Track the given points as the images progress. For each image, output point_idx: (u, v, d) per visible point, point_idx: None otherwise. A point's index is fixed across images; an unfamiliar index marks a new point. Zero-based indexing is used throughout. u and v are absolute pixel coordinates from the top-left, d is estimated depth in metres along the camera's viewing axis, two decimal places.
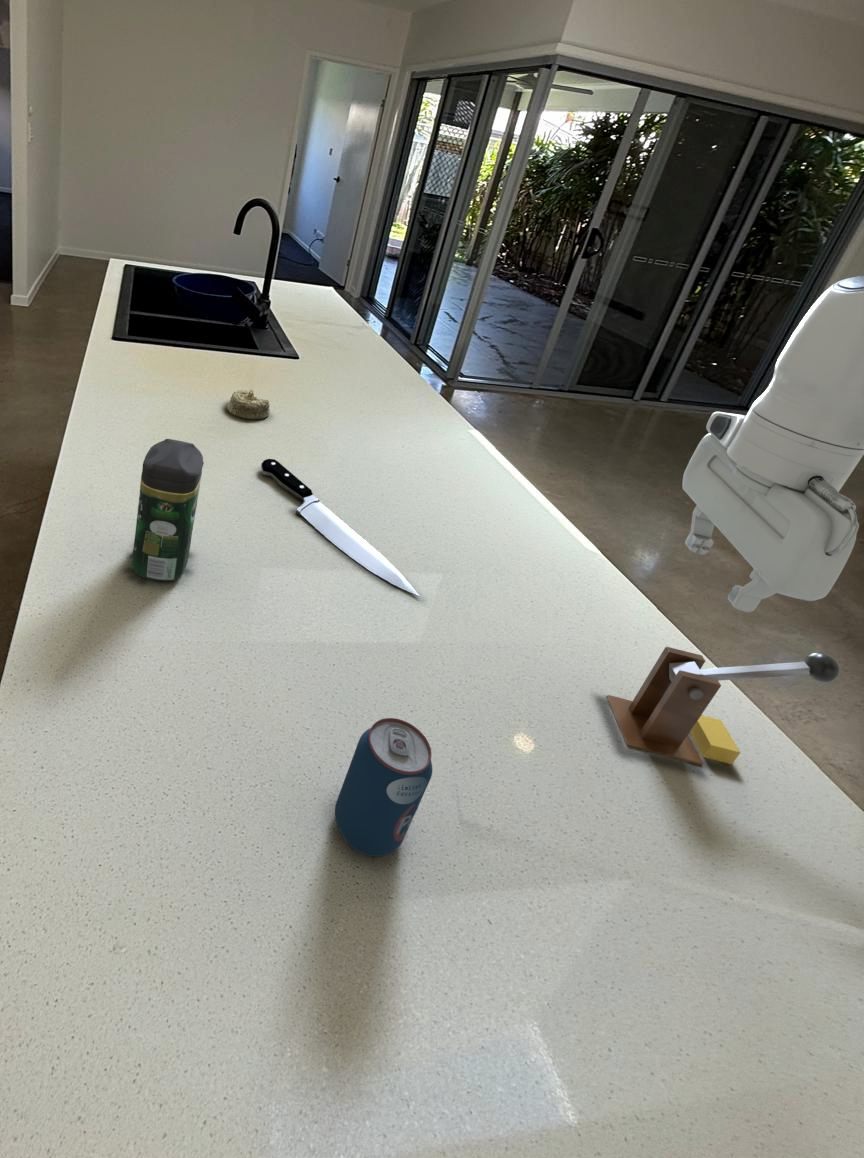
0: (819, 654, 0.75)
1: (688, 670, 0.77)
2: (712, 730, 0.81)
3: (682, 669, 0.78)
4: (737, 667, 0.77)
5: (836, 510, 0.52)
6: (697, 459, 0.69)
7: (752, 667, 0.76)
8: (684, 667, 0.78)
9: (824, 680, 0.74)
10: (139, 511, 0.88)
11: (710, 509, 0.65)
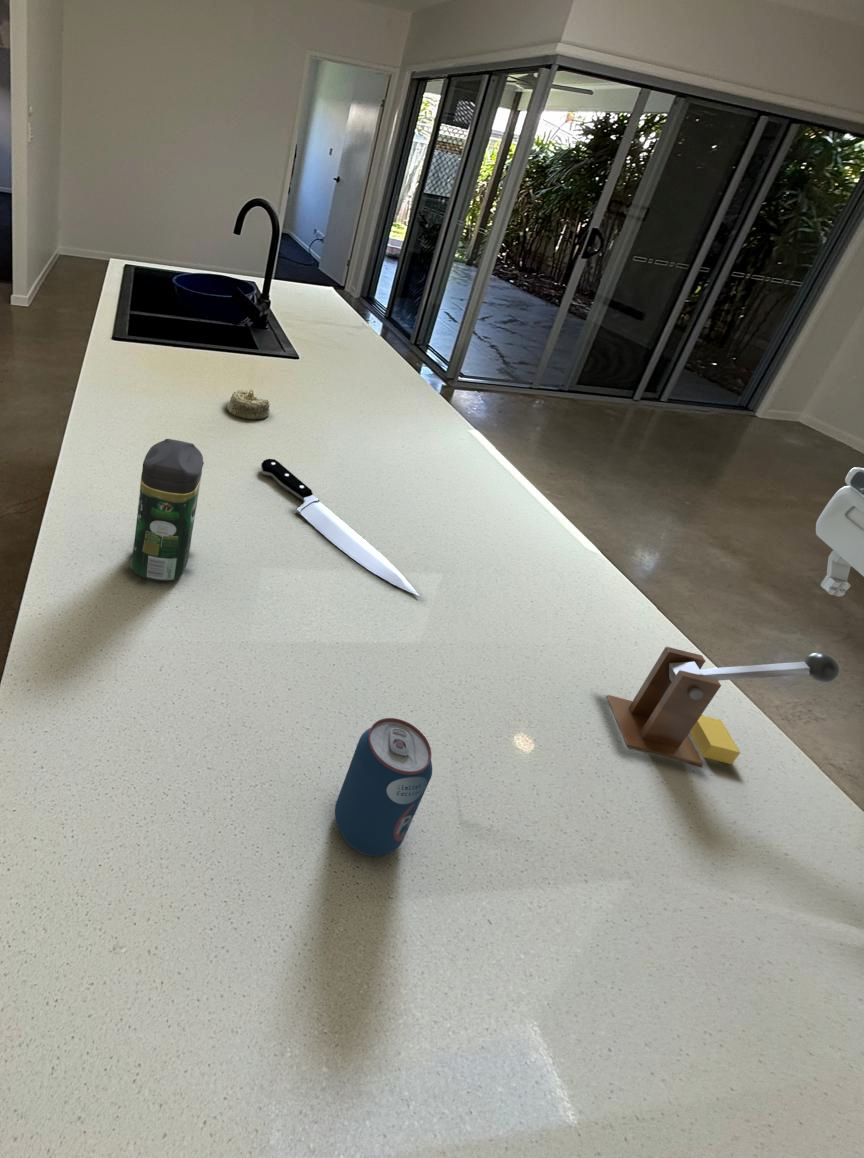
0: (819, 654, 0.75)
1: (688, 670, 0.77)
2: (712, 730, 0.81)
3: (682, 669, 0.78)
4: (737, 667, 0.77)
5: None
6: (833, 508, 0.76)
7: (752, 667, 0.76)
8: (684, 667, 0.78)
9: (824, 680, 0.74)
10: (139, 511, 0.88)
11: (852, 557, 0.72)
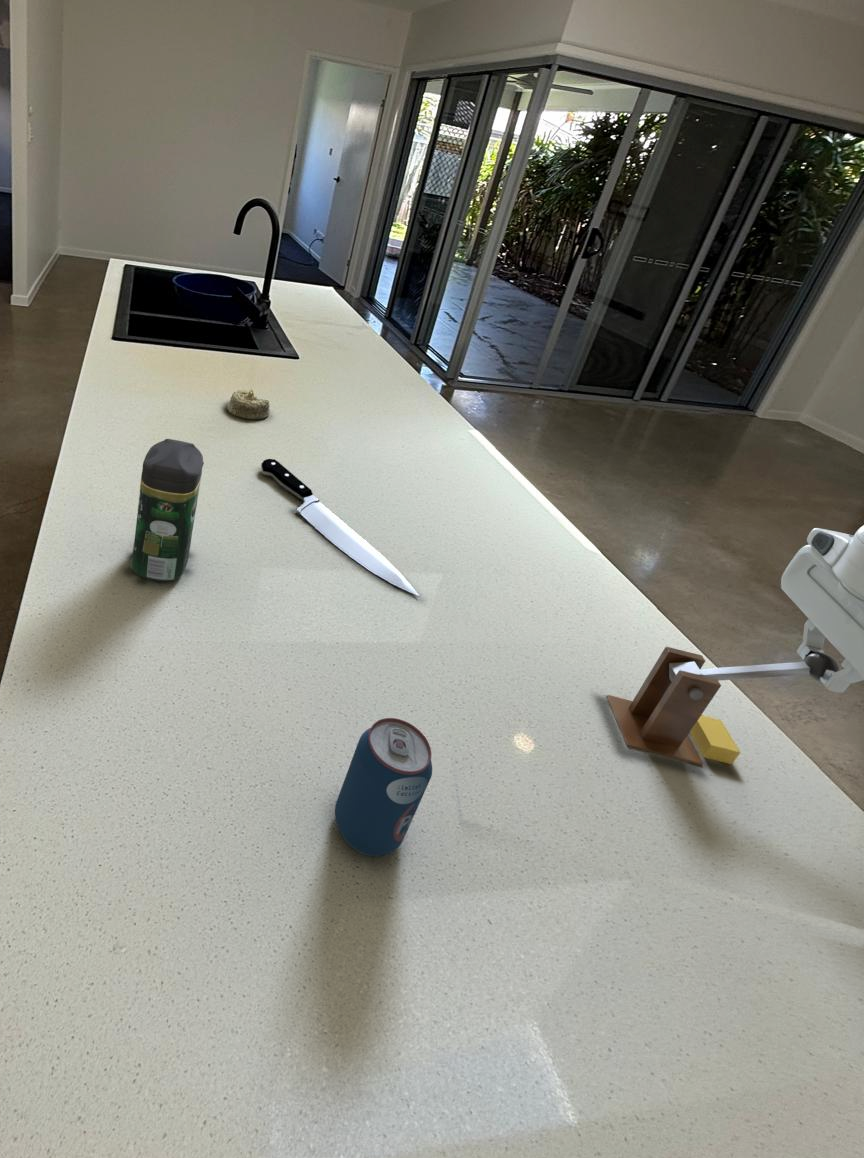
0: (819, 654, 0.75)
1: (688, 670, 0.77)
2: (712, 730, 0.81)
3: (682, 669, 0.78)
4: (737, 667, 0.77)
5: None
6: (796, 565, 0.79)
7: (752, 667, 0.76)
8: (684, 667, 0.78)
9: None
10: (139, 511, 0.88)
11: (813, 614, 0.76)
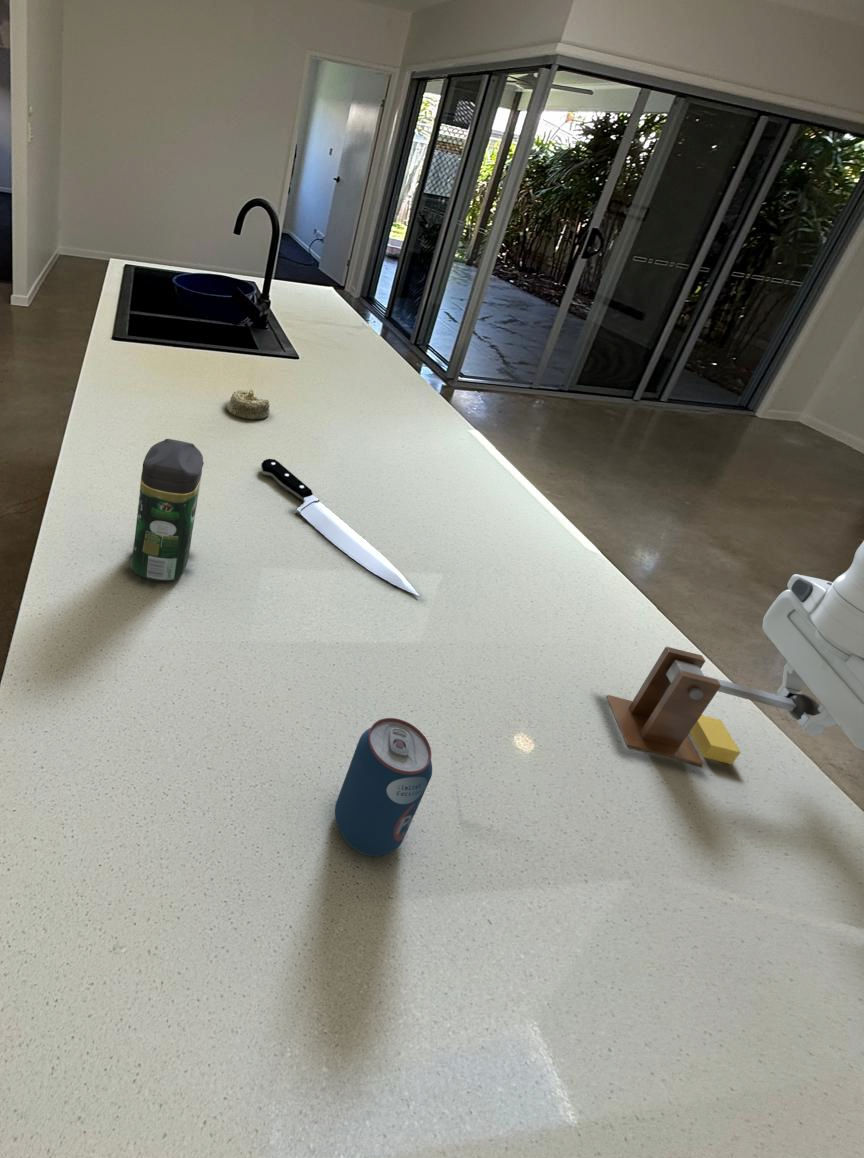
0: (808, 696, 0.77)
1: (693, 671, 0.77)
2: (712, 730, 0.81)
3: (687, 668, 0.78)
4: (733, 684, 0.78)
5: None
6: (777, 608, 0.82)
7: (746, 688, 0.78)
8: (689, 667, 0.78)
9: None
10: (139, 511, 0.88)
11: (792, 658, 0.78)
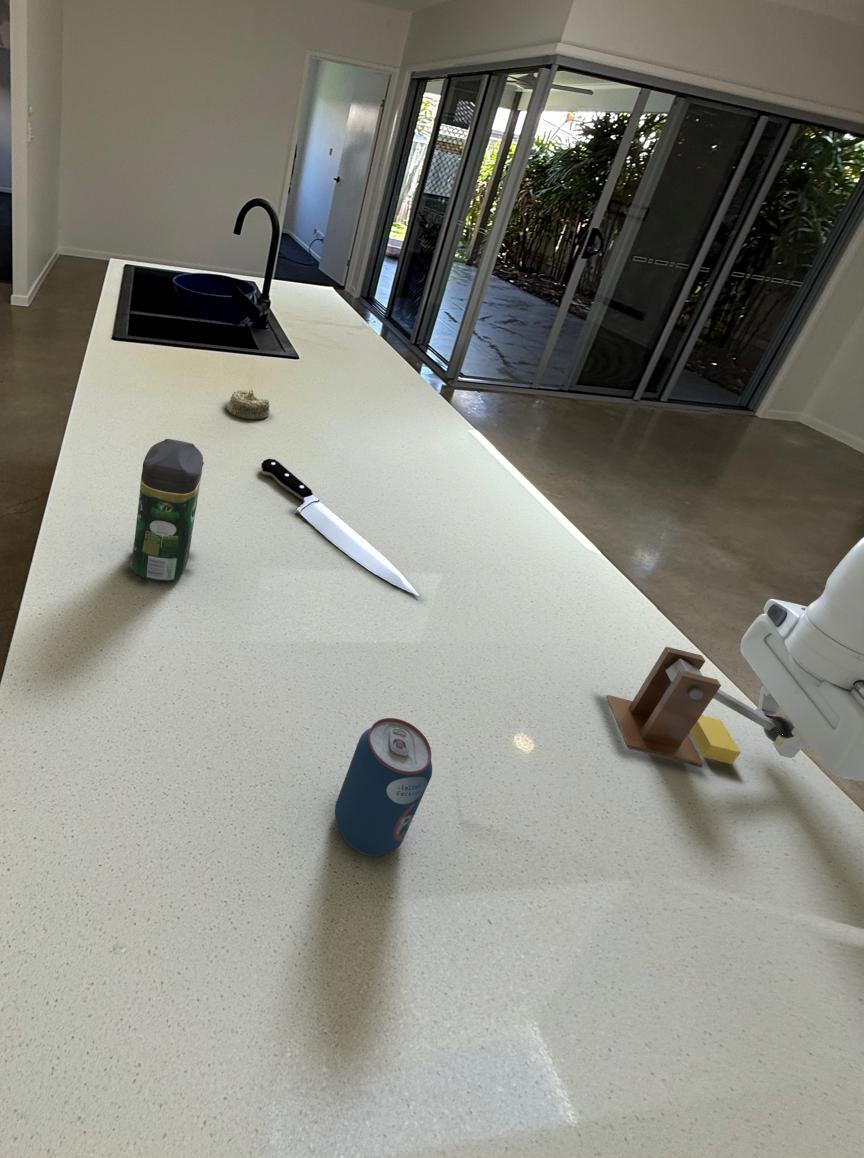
0: (787, 720, 0.79)
1: (695, 672, 0.77)
2: (712, 730, 0.81)
3: (691, 669, 0.78)
4: (725, 693, 0.79)
5: None
6: (754, 632, 0.84)
7: (736, 700, 0.79)
8: (692, 668, 0.78)
9: None
10: (139, 511, 0.88)
11: (768, 681, 0.80)
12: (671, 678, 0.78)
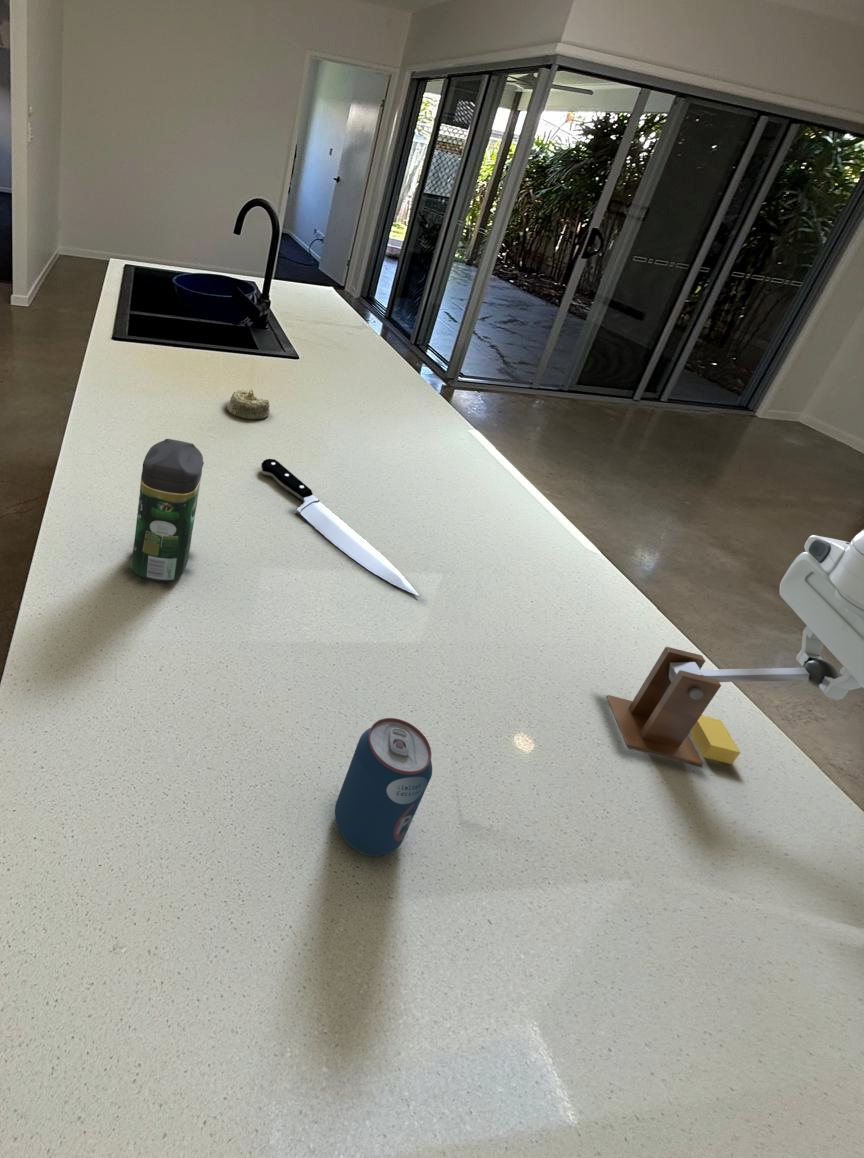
0: (819, 661, 0.75)
1: (689, 670, 0.77)
2: (712, 730, 0.81)
3: (683, 669, 0.78)
4: (737, 670, 0.77)
5: None
6: (794, 572, 0.80)
7: (752, 670, 0.77)
8: (685, 667, 0.78)
9: None
10: (139, 511, 0.88)
11: (811, 621, 0.76)
12: None
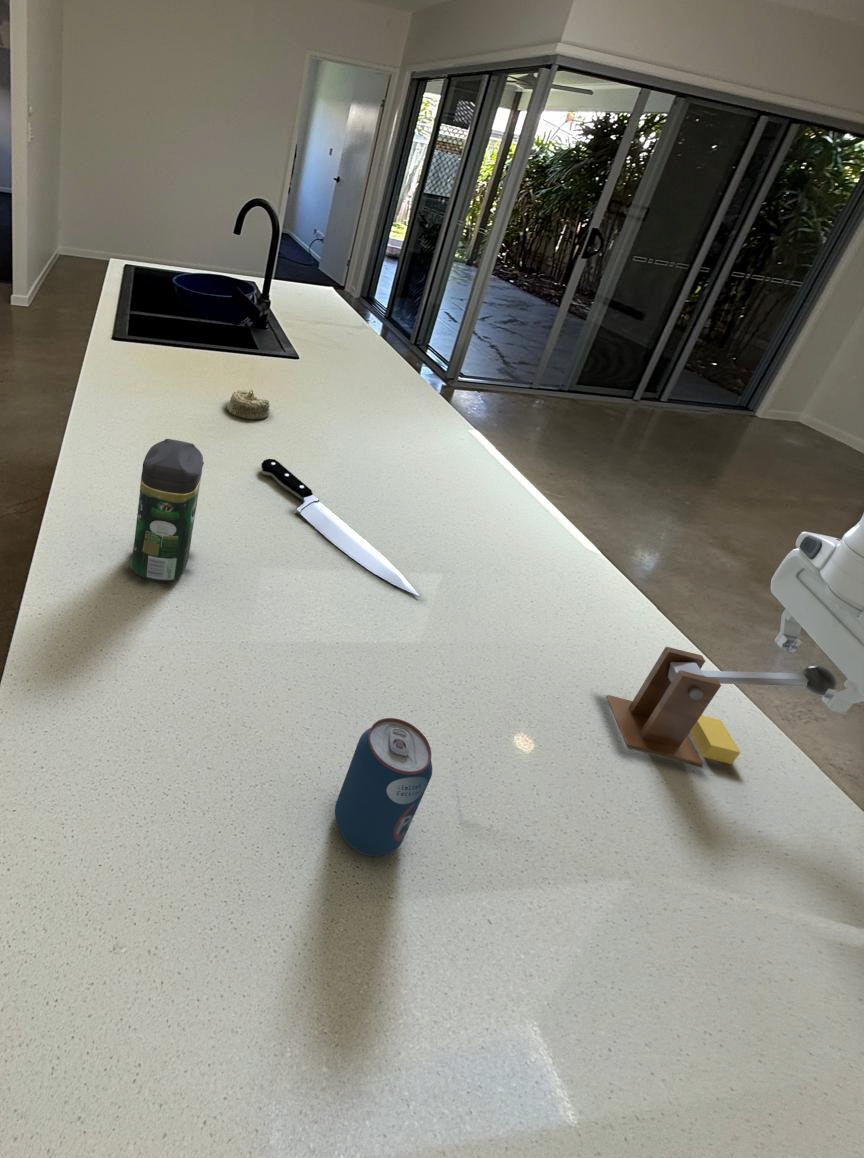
0: (818, 667, 0.75)
1: (690, 670, 0.77)
2: (712, 730, 0.81)
3: (684, 669, 0.78)
4: (737, 672, 0.77)
5: None
6: (786, 569, 0.80)
7: (752, 674, 0.77)
8: (686, 667, 0.78)
9: (820, 693, 0.75)
10: (139, 511, 0.88)
11: (802, 617, 0.76)
12: None
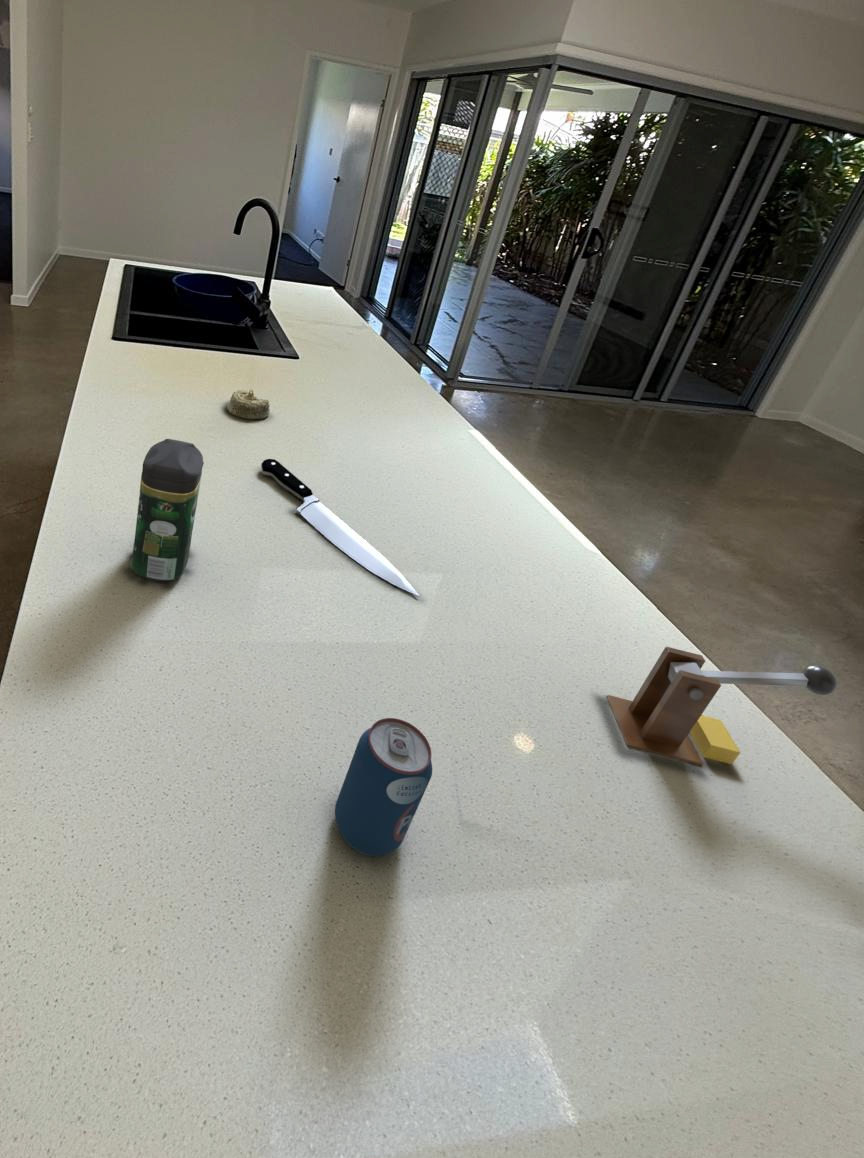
0: (818, 667, 0.75)
1: (690, 670, 0.77)
2: (712, 730, 0.81)
3: (684, 669, 0.78)
4: (737, 672, 0.77)
5: None
6: None
7: (752, 674, 0.77)
8: (686, 667, 0.78)
9: (820, 693, 0.75)
10: (139, 511, 0.88)
11: None
12: None
